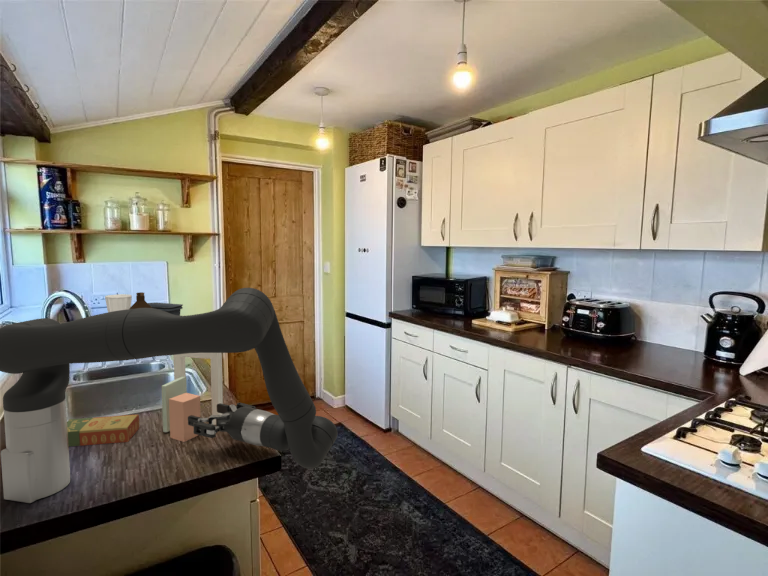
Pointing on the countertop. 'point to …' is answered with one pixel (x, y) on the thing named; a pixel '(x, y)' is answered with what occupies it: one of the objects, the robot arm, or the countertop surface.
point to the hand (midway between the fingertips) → (203, 413)
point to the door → (169, 392)
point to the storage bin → (168, 307)
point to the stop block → (183, 415)
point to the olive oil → (140, 302)
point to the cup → (118, 302)
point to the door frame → (215, 375)
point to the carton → (102, 430)
